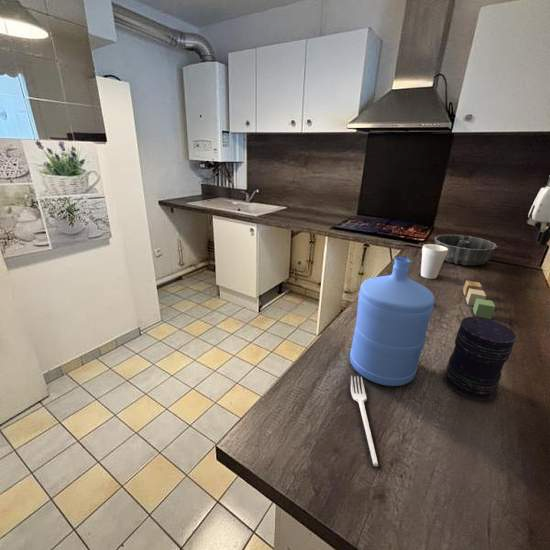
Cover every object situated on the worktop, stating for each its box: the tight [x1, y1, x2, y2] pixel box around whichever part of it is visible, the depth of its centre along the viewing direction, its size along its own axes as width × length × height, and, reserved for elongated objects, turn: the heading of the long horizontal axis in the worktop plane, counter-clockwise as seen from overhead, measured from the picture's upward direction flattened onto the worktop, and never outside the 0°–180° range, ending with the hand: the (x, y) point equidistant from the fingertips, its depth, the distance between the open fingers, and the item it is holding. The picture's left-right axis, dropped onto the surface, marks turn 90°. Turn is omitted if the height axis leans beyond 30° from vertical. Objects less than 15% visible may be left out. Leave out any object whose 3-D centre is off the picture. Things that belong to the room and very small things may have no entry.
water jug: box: [349, 256, 435, 387], centre depth 67 cm, size 16×16×28 cm
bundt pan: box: [434, 234, 498, 267], centre depth 145 cm, size 26×26×10 cm
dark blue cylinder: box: [444, 316, 517, 401], centre depth 64 cm, size 10×10×15 cm
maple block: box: [462, 280, 483, 297], centre depth 110 cm, size 4×4×4 cm
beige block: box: [465, 289, 487, 307], centre depth 103 cm, size 4×4×4 cm
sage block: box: [472, 298, 496, 320], centre depth 96 cm, size 4×4×4 cm
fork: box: [350, 375, 379, 467], centre depth 58 cm, size 3×20×2 cm, turn 175°
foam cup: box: [420, 243, 448, 280], centre depth 124 cm, size 10×9×13 cm
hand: (540, 243), depth 93 cm, fingers closed
